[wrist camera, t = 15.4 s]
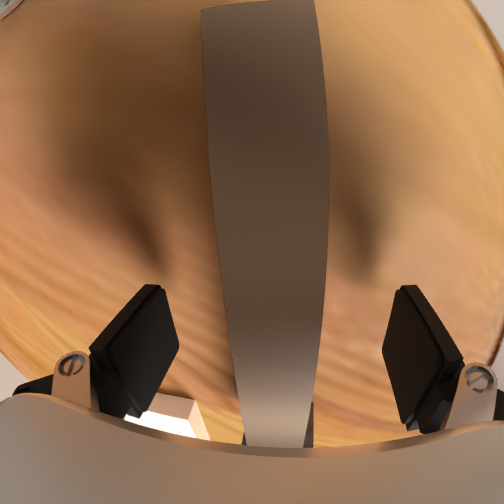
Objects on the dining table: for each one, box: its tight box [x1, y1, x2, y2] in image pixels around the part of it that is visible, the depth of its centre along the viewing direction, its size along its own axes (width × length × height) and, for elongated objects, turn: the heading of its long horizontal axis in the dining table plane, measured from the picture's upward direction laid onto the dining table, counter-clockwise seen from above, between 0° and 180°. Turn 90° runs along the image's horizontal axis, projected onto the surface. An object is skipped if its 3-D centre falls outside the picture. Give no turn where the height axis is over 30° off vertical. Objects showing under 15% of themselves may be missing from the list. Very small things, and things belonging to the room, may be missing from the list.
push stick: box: [201, 0, 329, 448], centre depth 10 cm, size 19×4×5 cm, turn 3°
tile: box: [124, 393, 211, 441], centre depth 19 cm, size 2×8×12 cm
